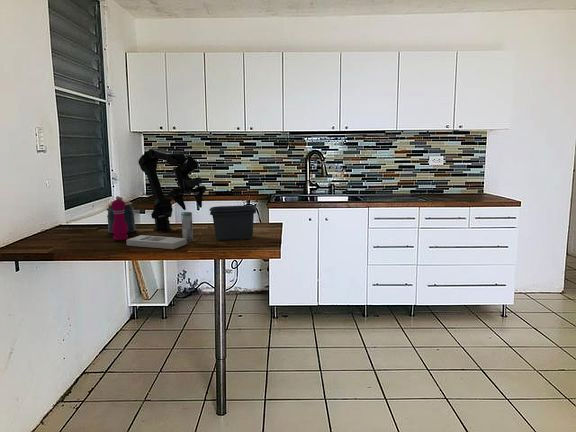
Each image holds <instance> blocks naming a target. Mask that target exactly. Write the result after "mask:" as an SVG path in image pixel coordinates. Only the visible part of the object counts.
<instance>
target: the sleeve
mask: <svg viewBox="0 0 576 432" xmlns="http://www.w3.org/2000/svg"><path fill="white" fill-rule="evenodd" d="M180 215H181V216H180V217H181V235H182V238H186V241H187V243H192V242H194V233H193V231H194V229H193V212H191V211H184V212H181V213H180Z"/></svg>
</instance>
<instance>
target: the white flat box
mask: <svg viewBox="0 0 576 432" xmlns="http://www.w3.org/2000/svg"><path fill="white" fill-rule="evenodd" d="M125 240H126V241H125V242H126V246H129V247H142V248H153V249H154V248H155V249H166V250H167V249H168V250H175V249H177V248H180V247H182V246H185V245H187V244H188V242H187V241H186V238H183V237H172V236H171V237H170V236H160V235H159V236H157V235H155V236H154V235H145V234H143V235H142V234H140V235H138V236H134V237H131V238H127V239H125Z"/></svg>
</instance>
